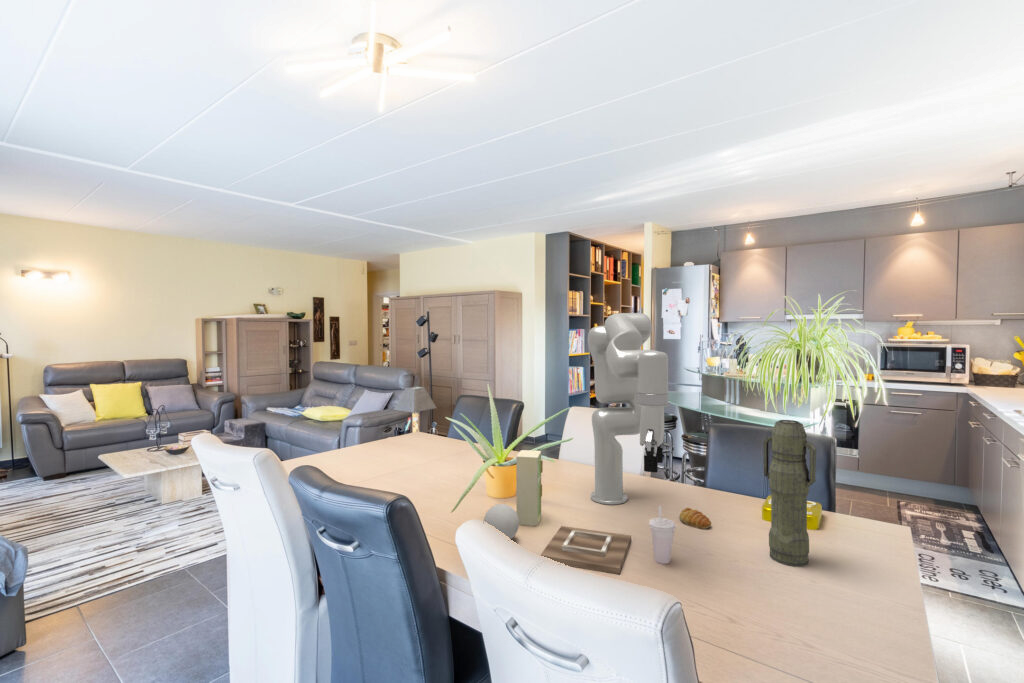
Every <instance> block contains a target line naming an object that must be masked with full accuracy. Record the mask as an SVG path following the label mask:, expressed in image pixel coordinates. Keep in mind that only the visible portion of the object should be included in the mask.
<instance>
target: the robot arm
mask: <svg viewBox="0 0 1024 683" xmlns="http://www.w3.org/2000/svg"><path fill="white" fill-rule="evenodd" d="M652 331H653V324H652V321H651V318H650V317H649V316H648V315H647V314H646V313H642V312H627V313H626V312H619V313H617V312H616V313H613V314H610V315H609V316H608V317H607V318H606V319H605V321H604V325H598V326H595V327H592V328H591V329H589V332H588V333H587V334H588V335H587V346H588V350H589V352H590V355H591V358H592V361H593V368H594V369H593V370H594V371H593V372H594V392H595V393H594V395H595V398H596V400H597V402H599V403H601V404H610V405H611V404H626V405H627V406H626V407H625V406H623V407H622V406H621V407H616V406H615V407H599V408H597V409H596V410H594V411H593V413H592V415H591V426H592V432H593V437H594V438H593V441H594V491H592V492H591V493H590V500H591V501H593V502H594V503H595V502H596V503H598V504H602V505H613V506H615V505H622V504H623V503H624V504H625V503H626V502H627V501H628V494H626V493H625V492H624V490H623V488H624V482H623V481H624V477H623V474H624V473H623V472H624V471H623V470H624V469H623V468H624V467H623V465H624V462H623V461H624V460H623V457H624V456H623V454H624V453H623V446H622V445H621V443H620V442H619V441H618V440H617V439H616V436H617V437H618V436H634V435H636V436H637V435H639V445H640V446H641V447H643V446H644V450H643V451H644V453H643V454H644V455H643V471H644V472H646V473H655V474H656V473H658V472H659V470H658V469H659V467H658V466H659V465H658V464H662V463H663V462H664V457H663V456H664V454H663V453H664V452H663V450H664V449H663V442H664V438H665V408H666V407H667V408H668V407H670V406H669V404H670V403H669V356H668V354H667V353H666V352H664V351H658V350H655V349H640V348H641V347H642V346H643V345H644V344H645V343H646V342H647V341H648V340H649V338H650V337H651V335H652Z"/></svg>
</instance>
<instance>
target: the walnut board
mask: <svg viewBox="0 0 1024 683" xmlns="http://www.w3.org/2000/svg"><path fill="white" fill-rule="evenodd" d="M631 542H632V534H631V535H629V534H623V533H615V532H609V531H608V532H607V531H601V530H595V529H586V528H580V527H579V528H578V527H573V526H566V525H560V528H559V529H558V530H557V531H556V532H555V534H554V535H553V537H552V538H551V540H550V541H549V542H548V544H547V545H546V546H545V548H544V549H543V550H542V552H541V554H540V555H541V556H544V557H547V558H550V559H552V560H554V561H557V562H560V563H564V564H566V565H565V566H567V565H569V566H568V567H575V568H579V567H581V568H580V569H586V570H591V569H592V571H598V572H602V573H610V574H616V575H620V574H621V572H622V568H623V565H624V563H625V560H626V558H627V554H628V551H629V548H630V545H631ZM576 566H577V567H576Z"/></svg>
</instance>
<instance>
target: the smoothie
mask: <svg viewBox="0 0 1024 683" xmlns="http://www.w3.org/2000/svg"><path fill="white" fill-rule="evenodd" d="M648 522H649V524H648V526H649V528H650V532H651V533H650V534H651V540H652V550H653V555H654V556H653V557H654V561H655V563H657V564H658V563H659V564H669V563H670V561H671V555H672V548H673V542H674V540H673V539H674V531H675V529H676V522H675V521H673V520H671V519H668V518H665V517H664V518H663V517H662V505H658V517H655V518H651V519H650V520H649V521H648Z"/></svg>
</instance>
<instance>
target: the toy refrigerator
mask: <svg viewBox="0 0 1024 683" xmlns="http://www.w3.org/2000/svg"><path fill="white" fill-rule="evenodd" d="M515 459H516V463H515V465H516V467H515V468H516V469H515V470H516V477H515V478H516V479H515V480H516V485H515V486H516V488H515V489H516V492H515V493H516V495H515V496H516V513H517V515H518V518H519V526H527V527H529V526H530V527H538V526H539V524H540V521H541V518H542V497H543V483H542V473H543V470H544V460H543V459H542V451H541V450H531V449H530V450H529V449H528V450H527V449H526V450H525V449H522V450H519V452H518V454H517V455H516V457H515Z"/></svg>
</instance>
